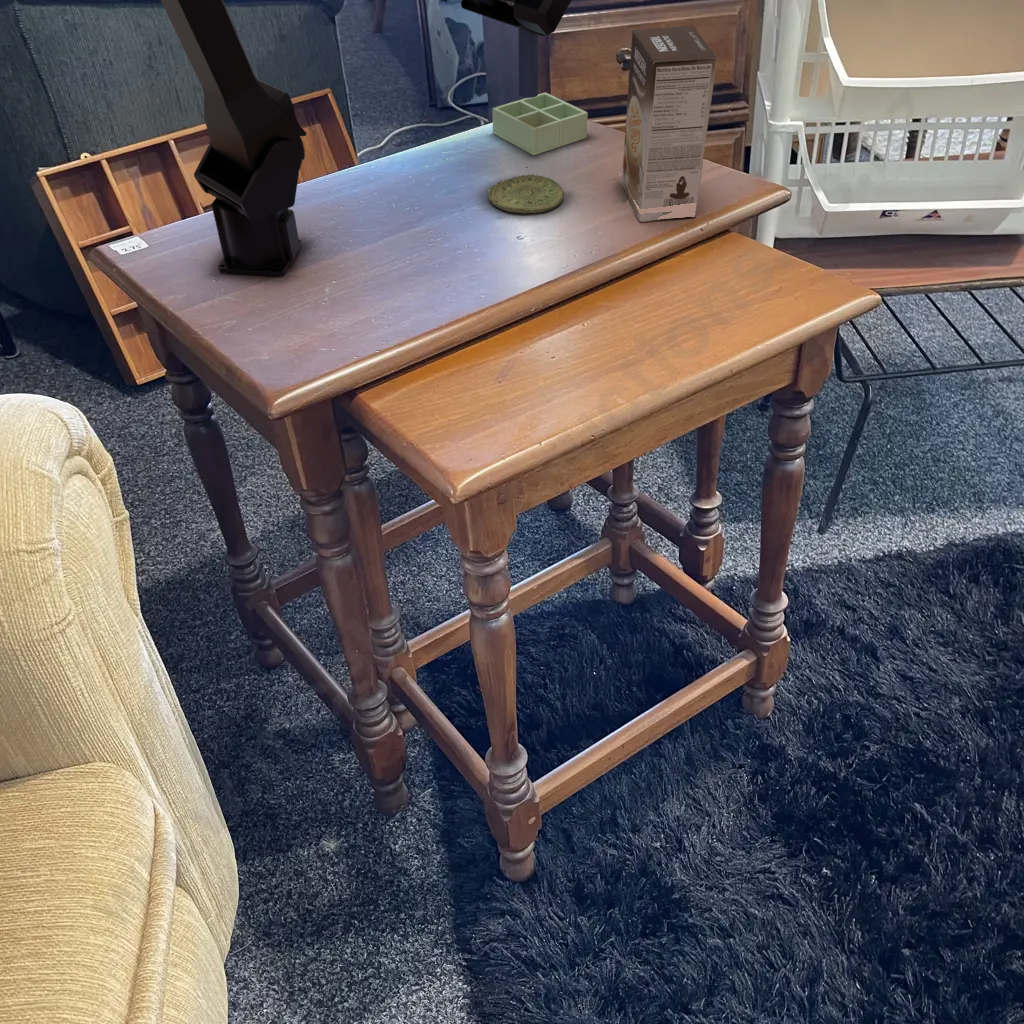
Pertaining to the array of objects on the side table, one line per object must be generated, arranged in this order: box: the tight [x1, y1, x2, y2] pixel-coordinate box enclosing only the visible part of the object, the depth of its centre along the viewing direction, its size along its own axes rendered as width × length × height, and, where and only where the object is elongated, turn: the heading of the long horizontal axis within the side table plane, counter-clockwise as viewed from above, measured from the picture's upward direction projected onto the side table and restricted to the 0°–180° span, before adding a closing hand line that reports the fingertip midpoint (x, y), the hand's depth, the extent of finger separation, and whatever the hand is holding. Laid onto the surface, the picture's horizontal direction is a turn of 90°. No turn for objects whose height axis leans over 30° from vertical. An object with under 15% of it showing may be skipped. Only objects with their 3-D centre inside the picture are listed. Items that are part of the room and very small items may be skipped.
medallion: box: [487, 174, 564, 215], centre depth 105 cm, size 8×8×1 cm
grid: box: [491, 91, 589, 156], centre depth 116 cm, size 8×8×3 cm
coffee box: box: [621, 25, 718, 223], centre depth 99 cm, size 9×6×16 cm
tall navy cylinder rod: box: [517, 28, 540, 99], centre depth 106 cm, size 2×2×12 cm
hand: (537, 29), depth 106 cm, fingers closed on tall navy cylinder rod, 2 cm apart
